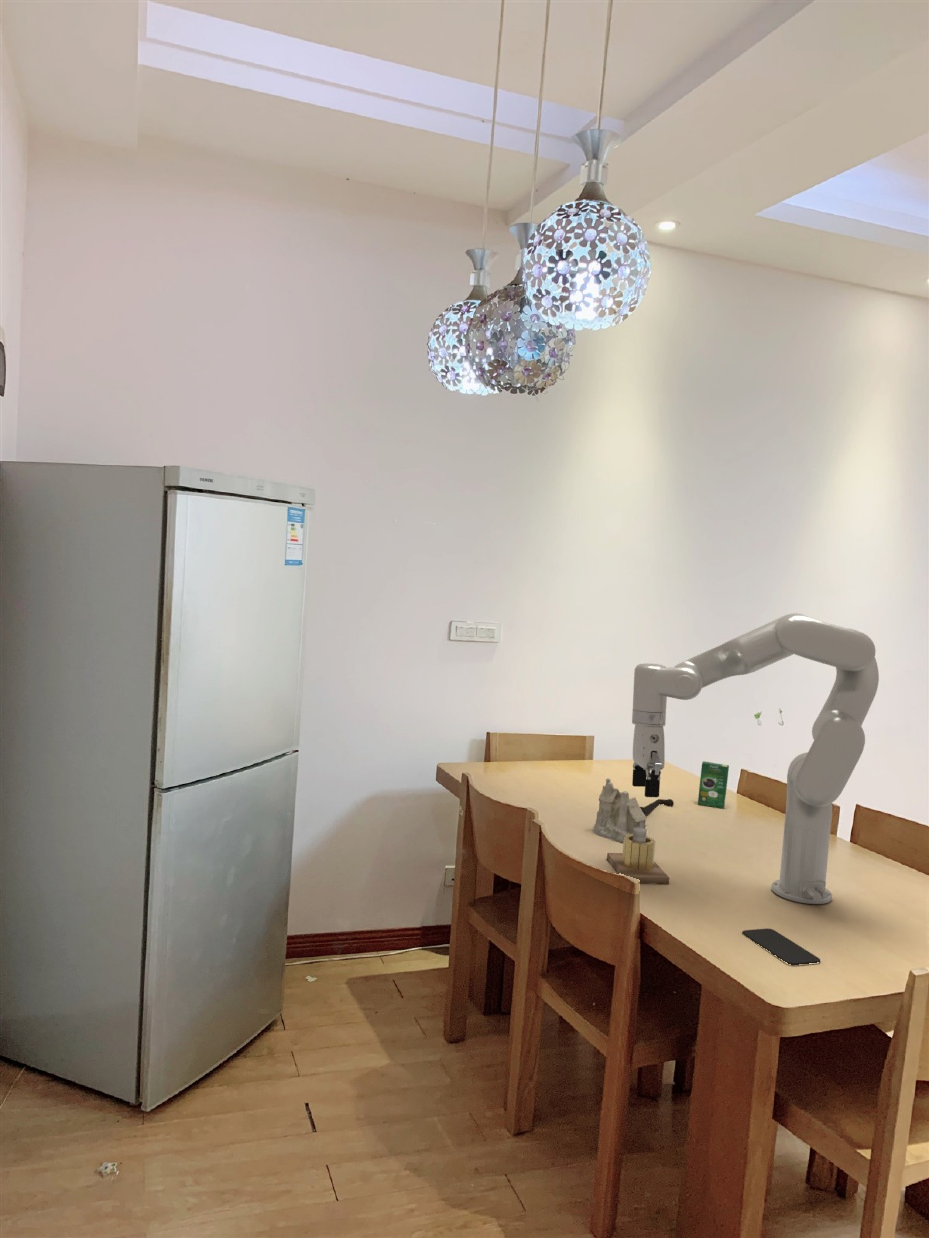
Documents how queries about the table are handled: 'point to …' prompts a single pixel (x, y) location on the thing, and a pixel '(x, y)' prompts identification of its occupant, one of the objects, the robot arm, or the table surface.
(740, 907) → the table surface
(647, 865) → the ring
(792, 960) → the phone
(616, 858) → the post board
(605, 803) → the ceramic cottage
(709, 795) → the coffee box
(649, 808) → the wrench
